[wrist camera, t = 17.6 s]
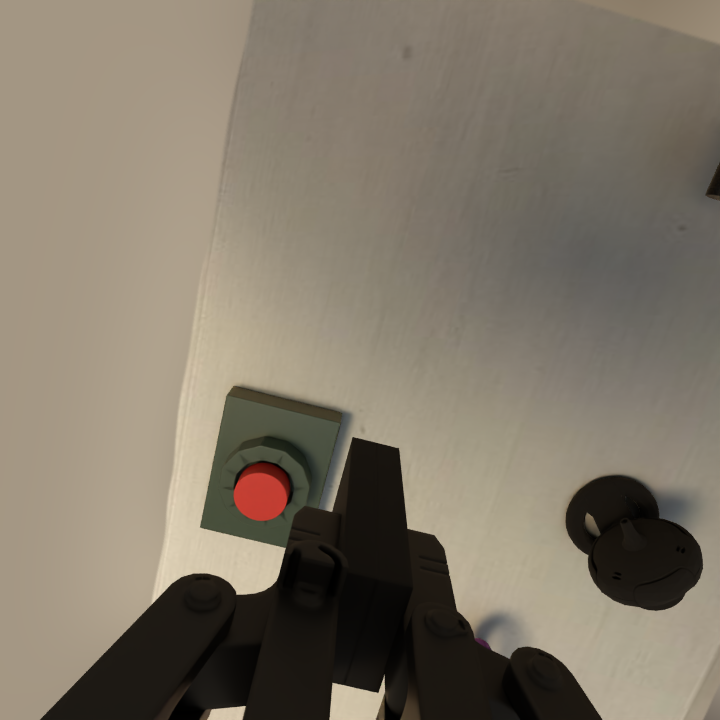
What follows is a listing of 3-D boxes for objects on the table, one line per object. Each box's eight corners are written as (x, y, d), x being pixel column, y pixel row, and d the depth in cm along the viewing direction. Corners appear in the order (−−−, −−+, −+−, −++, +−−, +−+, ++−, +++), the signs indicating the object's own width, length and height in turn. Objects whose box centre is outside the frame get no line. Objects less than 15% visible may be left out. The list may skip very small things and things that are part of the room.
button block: (233, 385, 45) (220, 402, 41) (342, 412, 45) (339, 432, 41) (207, 513, 48) (192, 540, 44) (309, 537, 48) (303, 566, 45)
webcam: (582, 566, 49) (634, 656, 39) (548, 498, 47) (593, 575, 37) (668, 530, 47) (743, 614, 38) (636, 459, 46) (706, 527, 36)
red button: (244, 456, 43) (238, 467, 41) (295, 469, 43) (292, 480, 41) (234, 502, 44) (228, 514, 42) (284, 514, 44) (280, 526, 42)
